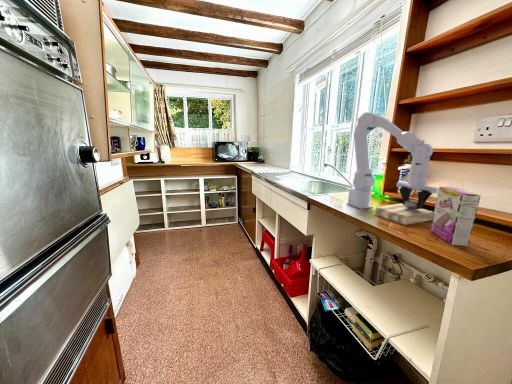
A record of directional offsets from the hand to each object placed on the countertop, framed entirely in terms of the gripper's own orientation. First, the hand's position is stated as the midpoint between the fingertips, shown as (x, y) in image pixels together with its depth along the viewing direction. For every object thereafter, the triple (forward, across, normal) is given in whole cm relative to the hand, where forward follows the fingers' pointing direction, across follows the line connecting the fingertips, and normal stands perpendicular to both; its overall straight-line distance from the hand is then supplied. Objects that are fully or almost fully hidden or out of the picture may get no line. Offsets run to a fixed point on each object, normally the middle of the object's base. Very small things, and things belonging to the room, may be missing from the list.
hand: (412, 206), depth 89 cm
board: (+5, -2, -2) cm, 6 cm away
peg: (+4, 0, 0) cm, 4 cm away
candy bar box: (+5, +18, -10) cm, 21 cm away
